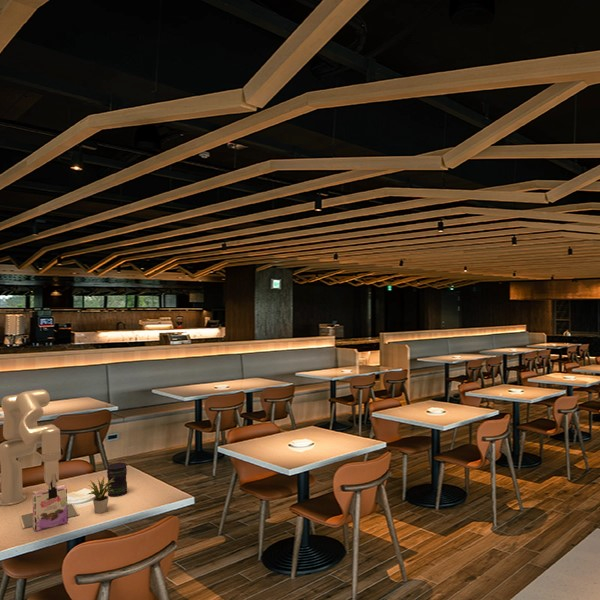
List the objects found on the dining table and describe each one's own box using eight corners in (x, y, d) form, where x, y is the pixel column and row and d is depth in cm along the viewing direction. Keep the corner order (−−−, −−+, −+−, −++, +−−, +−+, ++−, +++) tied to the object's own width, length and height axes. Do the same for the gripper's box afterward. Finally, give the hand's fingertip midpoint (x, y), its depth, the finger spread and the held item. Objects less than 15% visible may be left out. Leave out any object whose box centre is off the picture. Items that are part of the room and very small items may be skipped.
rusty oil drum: (130, 490, 272) (129, 462, 272) (122, 497, 262) (121, 468, 262) (112, 490, 272) (112, 462, 273) (104, 497, 263) (103, 468, 263)
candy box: (34, 532, 224) (33, 495, 224) (32, 527, 228) (31, 491, 229) (68, 523, 232) (67, 487, 232) (65, 519, 237) (64, 484, 237)
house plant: (120, 513, 241) (119, 479, 241) (89, 520, 234) (88, 485, 234) (115, 503, 253) (114, 471, 254) (85, 509, 247) (84, 476, 247)
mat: (19, 516, 241) (19, 515, 241) (73, 504, 254) (73, 503, 254) (22, 529, 227) (22, 528, 227) (79, 515, 240) (79, 514, 240)
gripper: (39, 454, 227) (41, 494, 227) (44, 461, 215) (45, 504, 215) (58, 451, 231) (59, 491, 231) (63, 458, 219) (64, 500, 219)
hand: (52, 497), depth 223 cm, fingers closed
